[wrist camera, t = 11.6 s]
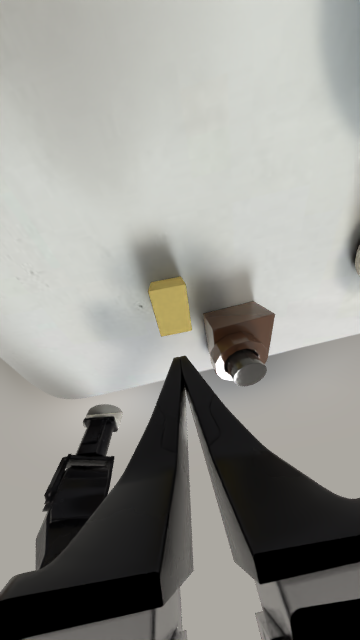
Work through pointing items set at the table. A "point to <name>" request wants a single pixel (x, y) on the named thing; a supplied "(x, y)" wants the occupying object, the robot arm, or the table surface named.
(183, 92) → the table surface
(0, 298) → the table surface
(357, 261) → the planter
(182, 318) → the yellow block
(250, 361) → the dark grey short cylinder
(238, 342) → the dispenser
